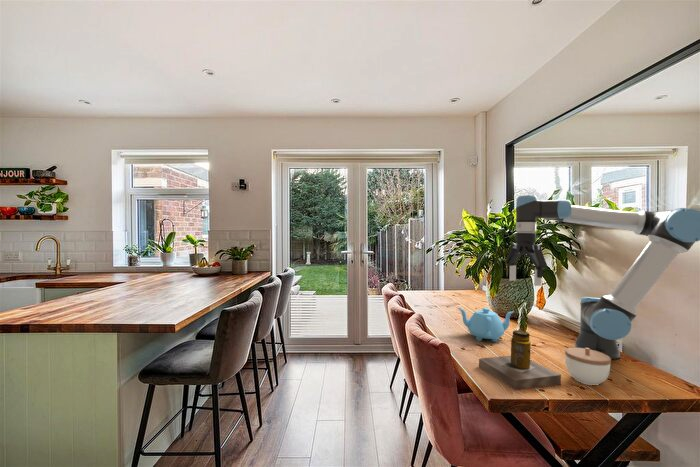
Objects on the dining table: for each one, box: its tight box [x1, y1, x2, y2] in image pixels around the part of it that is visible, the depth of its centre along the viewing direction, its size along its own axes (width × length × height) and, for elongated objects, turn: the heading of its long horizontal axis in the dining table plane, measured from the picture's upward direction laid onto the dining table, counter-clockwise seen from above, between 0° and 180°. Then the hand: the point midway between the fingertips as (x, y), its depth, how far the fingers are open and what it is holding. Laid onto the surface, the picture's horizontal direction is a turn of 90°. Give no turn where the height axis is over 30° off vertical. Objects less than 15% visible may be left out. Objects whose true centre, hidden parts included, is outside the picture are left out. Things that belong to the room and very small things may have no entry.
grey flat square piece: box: [478, 355, 562, 391], centre depth 114 cm, size 18×18×3 cm
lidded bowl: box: [564, 347, 612, 386], centre depth 110 cm, size 13×13×11 cm
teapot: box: [457, 307, 515, 343], centre depth 153 cm, size 16×20×14 cm
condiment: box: [502, 329, 535, 373], centre depth 114 cm, size 7×8×12 cm
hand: (524, 283), depth 137 cm, fingers open, 13 cm apart
